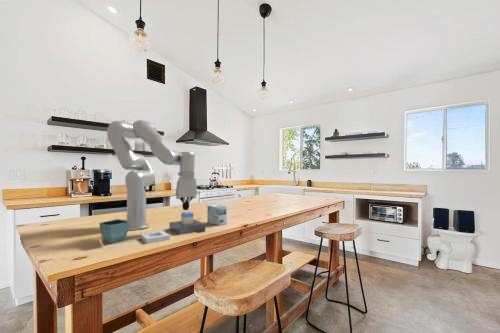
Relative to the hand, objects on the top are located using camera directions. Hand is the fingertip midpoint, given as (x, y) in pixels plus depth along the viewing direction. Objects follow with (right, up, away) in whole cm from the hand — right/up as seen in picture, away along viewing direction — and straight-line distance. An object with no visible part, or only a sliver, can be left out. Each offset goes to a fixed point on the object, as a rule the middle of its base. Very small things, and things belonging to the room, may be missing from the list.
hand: (185, 209), depth 129 cm
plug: (+1, -10, -1) cm, 11 cm away
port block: (+1, -11, -1) cm, 11 cm away
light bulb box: (+14, -11, +17) cm, 25 cm away
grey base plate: (-9, -11, -18) cm, 23 cm away
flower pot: (-26, -11, -21) cm, 35 cm away
